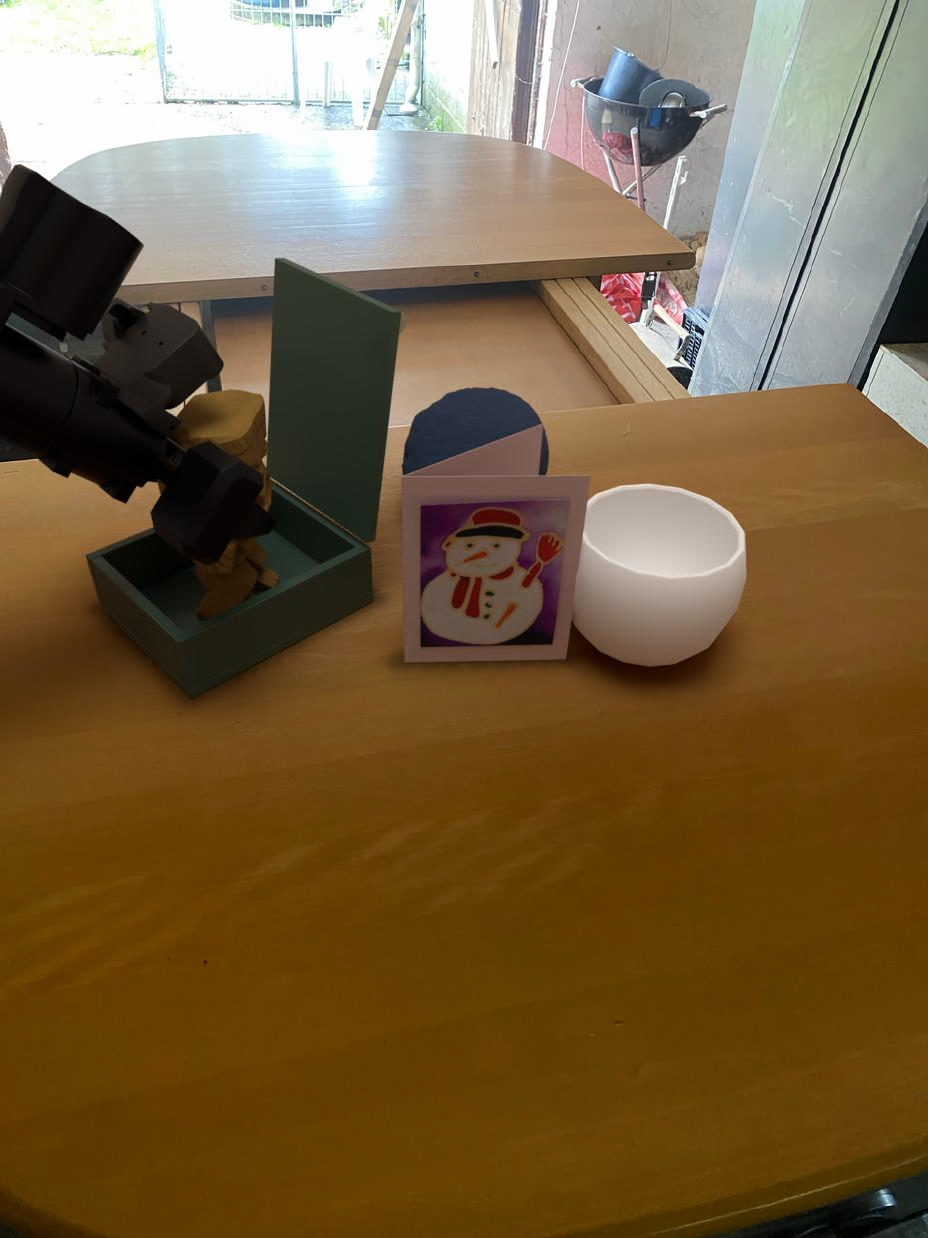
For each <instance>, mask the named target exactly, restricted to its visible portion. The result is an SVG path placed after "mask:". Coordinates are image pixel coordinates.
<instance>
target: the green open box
mask: <svg viewBox="0 0 928 1238" xmlns="http://www.w3.org/2000/svg"><path fill="white" fill-rule="evenodd" d="M270 479H271V482H272V495H271V504H270V506H269V511H268V513H269V514H270V515H271V516H272V517H273V518H274V519H275V520H276V524H275V526H274V527H273V529H272V531H271V532H270V533H269V534H268V535H263V536H257V538H256V540H255V542H256V543H257V544H259V545H260V546H261V547H262V548H264V549H265V550H266V551H267V552H268V553H267V556H266V558H265V560H264V562H263V566H264V567H266V568H268V569H270V570H272V571H274V572H276V573H277V574H279V584H278V585H277V586H275V587H273V588H271V589H269V590H267V591H262V590H251V592H252V593H253V594H255V595H256V596H255V597H253V598H251V599H249V600H247V601H245V602H242V603H240V604H238V605H236V606H234V607H232V608H230V609H228V610H226V611H224V612H222V613H220V614H218V615H216V616H214V617H212V618H210V619H199V618H198V616H197V614H196V612H197V610H198V608H199V606H200V603H201V601H202V600H203V598H204V597H205V595H206V594H207V593H208V591H209V590H208V589H207V587H206V586H205V585H204V584H203V583H202V582H201V581H200V580H199V579H198V577H197V576H196V575H195V573H196V571H197V568H198V566H197V565H196V564H195V563H194V561H193V560H192V559H190V558H188V557H185V556H184V555H182V554H181V553H180V552H179V551H178V550H176V549H175V548H174V547H173V546H172V545H170V544H169V543H168V542H167V541H166V540H165V539H163V538H162V537H161V536H160V535H159V534H157V533H156V532H155V531H154V527H153V526H152V527H149V528H147V529H145V530H142V531H140V532H138V533H135V534H133V535H131V536H128V537H126V538H122V539H121V540H118V541H116V542H114V543H111V544H108V545H105V546H103V547H102V548H99V549H96V550H94V551H91V552H89V553H87V554H85V558H86V562H87V565H88V569H89V572H90V576H91V579H92V583H93V586H94V589H95V593H96V597H97V600H98V603H99V607H100V610H101V611H102V612H103V613H104V614H105V615H106V616H107V617H108V618H109V619H110V620H111V621H112V622H113V623H114V624H115V625H116V626H117V627H118V628H119V629H120V630H121V631H122V632H123V633H124V634H125V635H126V636H127V637H128V638H129V639H130V640H132V641H133V642H134V644H135V645H137V646H138V648H139V649H141V651H143V653H144V654H145V655H147V656H148V657H149V658H150V660H151V661H153V663H154V664H156V665H157V666H158V667H159V668H160V669H161V670H162V671H163V672H164V673H165V674H166V676H168V678H170V680H172V681H173V682H174V683H175V685H176V686H178V687H179V689H181V690H182V691H183V692H184V694H185V695H187V697H189V698H190V699H193V698H196V697H198V696H199V695H201V694H204V693H205V692H207V691H208V690H210V689H212V688H214V687H216V686H218V685H220V684H221V683H223V682H225V681H227V680H229V679H231V678H233V677H235V676H236V675H239V674H240V673H242V672H244V671H246V670H248V669H250V668H252V667H254V666H255V665H257V664H259V663H261V662H262V661H264V660H267V659H268V658H270V657H272V656H274V655H276V654H278V653H280V652H281V651H283V650H285V649H286V648H289V647H290V646H292V645H294V644H296V643H298V642H300V641H302V640H304V639H305V638H307V637H309V636H311V635H313V634H315V633H316V632H318V631H320V630H322V629H324V628H326V627H328V626H330V625H332V624H334V623H336V622H337V621H339V620H341V619H342V618H345V617H346V616H349V615H350V614H352V613H355V612H356V611H358V610H360V609H361V608H363V607H365V606H367V605H369V604H372V602H373V603H374V586H373V585H374V583H373V561H372V559H373V558H372V547H371V546H370V545H368V543H366V542H364V541H363V540H362V539H360V538H359V537H357V536H356V535H354V534H353V533H351V532H350V531H348V530H347V529H345V528H344V527H343V526H341V525H340V524H338V523H337V522H335V521H334V520H332V519H331V518H329V517H328V516H326V515H325V514H324V513H322V512H321V511H319V510H318V509H316V508H315V507H313V506H312V505H310V504H309V503H307V502H306V501H305V500H303V499H302V498H300V497H299V496H297V495H296V494H294V493H293V492H291V491H290V490H288V489H287V488H286V487H284V486H283V485H281V484H280V483H278V482H277V481H275V480H274V479H272V478H270Z"/></svg>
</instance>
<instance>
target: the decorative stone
mask: <svg viewBox="0 0 928 1238" xmlns="http://www.w3.org/2000/svg"><path fill="white" fill-rule="evenodd" d="M540 424H543V422H542V419H541V418H540V416H539V414H538V413H537V411H536V410H535V408H533V407H532V406H531V404H530V403H528V402H527V401H525V400H524V399H523V398H522V397H521V396H519V395H516V394H515V393H512V392H511V391H508V390H505V389H502V388H501V389H500V388H496V387H493V386H489V387H477V386H476V387H475V386H474V387H465V388H459V389H457V390H454V391H449V392H446V393H445V394H444V395H443V396H442V397H441V398H440V399H438V400H436V401H435V402H433V403H431V404H430V405H429V406H428V407H427V408H424V409H422V410H420V411H419V412H418V413H416V414H415V415H414V417H413V419H412V422H411V424H410V428H409V431H408V435H407V437H406V440H405V443H404V448H403V456H402V457H403V459H402V464H401V472H402V473H401V474H402V476H404V475H407V474H409V473H412V472H415V471H417V470H420V469H423V468H425V467H428V466H431V465H433V464H436V463H439V462H441V461H444V460H447V459H450V458H452V457H455V456H458V455H460V454H463V453H466V452H468V451H471V450H474V449H476V448H479V447H482V446H484V445H487V444H490V443H492V442H495V441H498V440H500V439H503V438H506V437H508V436H511V435H514V434H516V433H519V432H522V431H524V430H527V429H530V428H532V427H535V426H538V425H540ZM549 462H550V449H549V441H548V435H547V433H546V429H545V426H544V425H543V433H542V443H541V454H540V464H539V475H538V476H547V472H548V468H549Z"/></svg>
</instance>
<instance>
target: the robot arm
mask: <svg viewBox="0 0 928 1238" xmlns="http://www.w3.org/2000/svg"><path fill="white" fill-rule="evenodd" d="M1 188H2V189H1V192H0V442H2V443H3V444H6V445H9V446H11V447H13V448H15V449H18V450H20V451H22V452H24V453H27V454H29V455H31V456H33V457H35V458H36V459H37V460H38V461H40V462H41V463H42V464H43V465H44V466H45V467H46V468H47V469H48V470H50V471H51V472H52V473H54V474H57V475H59V476H61V477H64V478H65V479H68V478H69V477H70V475H71V474H73V475H74V476H77V477H80V478H82V479H84V480H87V481H88V482H91V483H93V484H95V485H96V486H98V488H100V489H101V490H102V491H103V492H105V493H106V494H107V495H108V496H109V497H110V498H112V499H114V500H116V501H118V502H121V503H123V504H125V505H126V504H128V502H129V500H130V499H131V497H132V495H133V493H134V492H135V491H136V488H137V487H138V488H140V489H142V488H144V487H145V485H146V484H147V483H148V482H149V483H156V484H158V483H157V479H158V480H159V481H161V482H162V483H163V484H164V485H166V487H165V489H164V490H163V492H162V494H160V496H159V497H158V498H157V501H156V502H155V504H154V505H153V506H152V509H151V510H150V517H151V522H152V527H154V531H155V532H156V533H157V534H159V535H160V536H161V537H162V538H163V539H165V540H166V541H167V542H168V543H169V544H170V545H172V546H173V547H174V548H175V549H176V550H178V551H179V552H180V553H181V554H182V555H184V556H185V557H188V558H190V559H193V560H195V561H197V562H200V563H202V564H205V565H207V566H208V565H211V564H214V563H216V562H218V561H219V559H220V558H221V556H222V555H223V553H224V551H225V550H226V548H227V546H228V545H229V543H230V541H233V540H238V539H244V538H250V537H257V536H263V535H268V534H269V533H270V532H271V531H272V529H273V527H274V526H275V524H276V520H275V519H274V518H273V517H272V516H271V515H270V514H269V513H268V512H267V511H266V510H265V509H264V508H262V507H261V506H260V505H259V504H258V503H257V502H256V501H255V500H256V499H257V497H258V496H259V494H260V492H261V491H262V489H263V487H264V481H263V474H261V473H260V472H258V471H257V470H255V469H254V468H253V467H251V466H250V465H248V464H247V463H245V462H244V461H242V460H241V459H239V458H238V457H236V456H235V455H233V454H232V453H230V452H228V451H227V450H225V449H223V448H222V447H220V446H218V445H217V444H215V443H213V442H211V441H209V440H208V441H206V442H203V443H200V444H197V445H195V446H192V447H189V449H188V450H187V451H186V450H185V449H183V448H182V447H181V446H179V445H178V444H176V443H175V442H174V441H172V440H171V439H170V438H171V437H172V436H173V435H174V433H175V431H176V430H177V428H178V426H179V425H180V423H181V421H182V420H180V419H179V418H177V417H176V416H177V415H174V414H173V413H171V412H169V410H173V409H175V408H178V407H179V406H180V405H182V404H183V403H184V402H185V401H186V400H187V399H188V398H189V397H191V396H192V395H193V394H195V392H196V391H198V389H200V388H201V387H202V386H203V385H205V383H207V382H208V381H212V380H214V379H215V378H216V377H218V376H219V375H220V373H221V372H222V371H223V368H224V366H225V363H224V360H223V358H222V357H221V356H220V354H219V353H218V351H217V350H216V348H215V347H214V345H213V343H212V342H211V340H210V339H209V338H208V336H207V334H206V333H205V332H204V330H203V328H202V327H201V325H200V324H199V322H198V321H197V320H196V319H194V318H193V317H191V316H190V315H188V314H186V313H184V312H182V311H180V310H178V309H177V308H175V307H174V306H173V305H170V304H159V305H158V304H156V303H154V302H153V301H150V302H148V304H146V307H147V309H148V311H145V310H143V309H141V308H139V307H137V306H136V305H133V304H132V303H129V302H127V301H126V300H123V299H122V298H119V297H117V296H116V295H117V293H118V291H119V290H120V288H121V286H122V284H123V283H124V281H125V280H126V279H127V278H126V277H127V276H128V274H129V273H130V271H131V269H132V267H133V266H134V264H135V262H136V261H137V259H138V257H139V256H140V254H141V252H142V251H143V249H144V247H145V245H144V243H143V242H142V241H141V240H140V239H139V238H137V236H135V235H134V234H133V233H131V232H130V231H129V230H128V229H127V228H125V227H124V226H123V225H121V224H120V223H119V222H117V221H116V220H114V219H113V217H110V215H107V214H106V213H104V212H101V211H100V210H97V209H96V208H93V207H91V206H90V205H88V204H85V203H83V202H82V201H80V200H79V199H77V198H76V197H75V196H73V195H71V194H69V193H68V192H67V191H65V190H63V189H62V188H61V187H59V186H57V185H55V184H54V183H52V182H51V181H50V180H48V179H47V178H46V177H44V176H43V175H42V174H40V173H39V172H38V171H35V170H34V169H32V168H29V167H28V166H25V165H24V164H22V163H18V164H14V166H13V167H12V169H11V171H10V172H9V173H8V176H7V178H6V179H5V180H4V183H3V186H2V187H1ZM115 296H116V297H115ZM12 314H14V315H16V316H17V317H19V318H21V319H22V320H24V321H25V322H27V323H29V324H31V325H32V326H35V327H36V328H37V329H39V330H41V331H43V332H44V333H46V334H48V335H49V336H51V337H53V338H55V339H56V340H59V341H60V342H62V343H63V342H64V341H65V340H66V338H67V336H68V335H71V336H72V337H75V338H76V339H78V340H80V341H82V342H84V341H85V340H86V337H87V336H88V335H91V336H93V334H94V333H95V331H96V329H97V327H98V325H99V323H100V324H101V329H102V330H101V331H102V335H103V338H104V341H102V342H101V344H100V345H101V346H102V347H103V349H104V350H105V351H104V353H102V355H101V356H100V357H99V358H98V359H97V360H96V361H95V360H94V359H92V360H86V359H85V358H83V357H81V356H80V355H78V354H76V353H74V354H73V355H72V356H70V355H67V354H66V353H65V354H64V355H63V354H61V353H59V352H58V351H56V350H54V349H53V348H51V347H49V346H48V345H45V344H43V343H42V342H40V341H39V340H37V339H35V338H33V337H31V336H30V335H28V334H26V333H24V332H22V331H21V330H19V329H17V328H15V326H12V325H10V324H8V323H7V322H8V320H9V319H10V317H11V316H12ZM164 456H166V457H167V458H169V460H171V461H173V463H175V464H176V465H178V467H177V468H176V467H174V466H173V465H172V464H170V463H169V462H168V461H166V460H165V459H164Z"/></svg>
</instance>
